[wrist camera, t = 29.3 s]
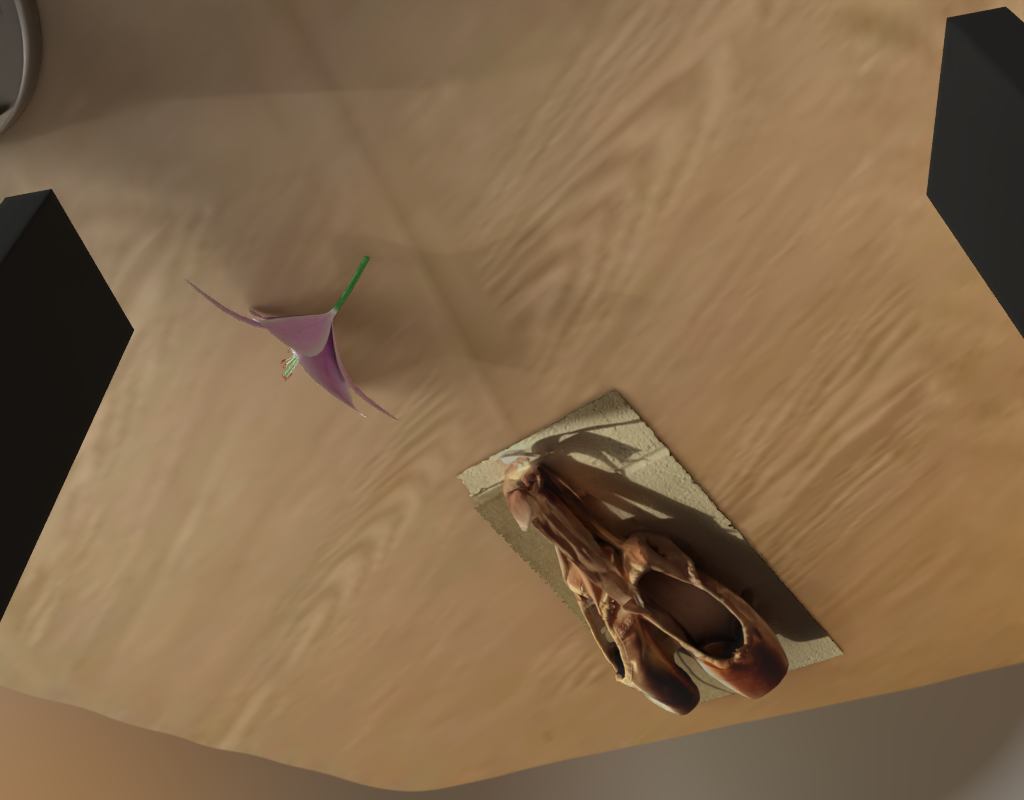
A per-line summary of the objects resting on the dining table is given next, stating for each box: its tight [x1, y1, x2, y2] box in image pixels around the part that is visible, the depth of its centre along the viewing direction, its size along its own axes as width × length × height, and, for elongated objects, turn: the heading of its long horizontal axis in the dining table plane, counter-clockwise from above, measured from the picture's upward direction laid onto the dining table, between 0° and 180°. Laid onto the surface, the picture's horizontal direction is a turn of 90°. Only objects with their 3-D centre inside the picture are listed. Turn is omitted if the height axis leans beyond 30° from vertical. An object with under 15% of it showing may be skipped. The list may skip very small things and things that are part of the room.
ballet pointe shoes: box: [456, 391, 844, 715], centre depth 61 cm, size 14×7×28 cm
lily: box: [184, 256, 398, 420], centre depth 50 cm, size 12×12×10 cm
